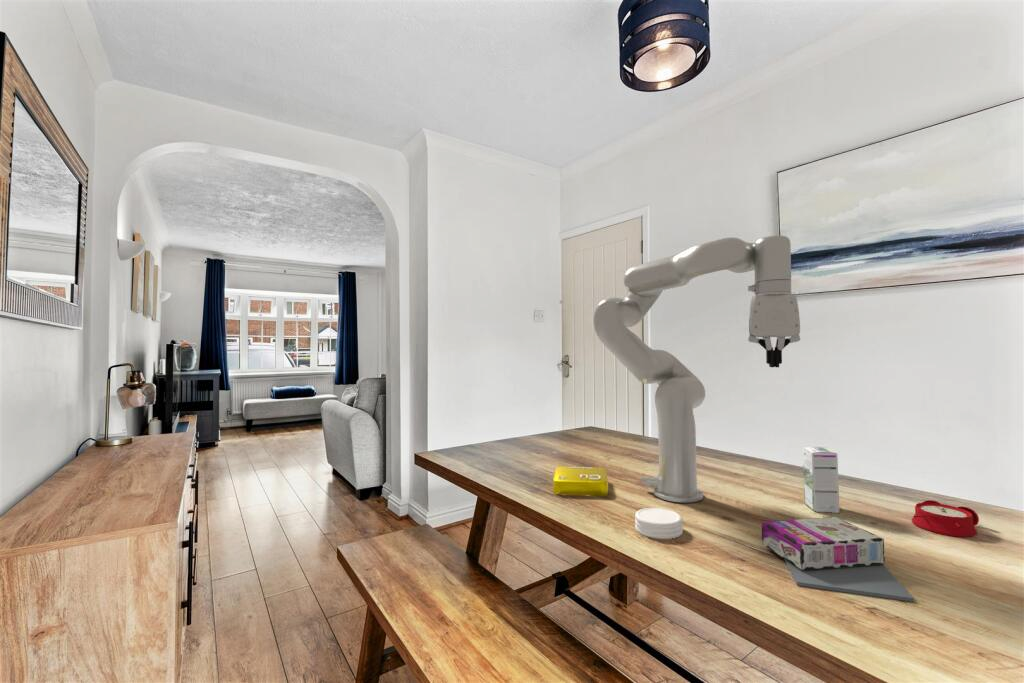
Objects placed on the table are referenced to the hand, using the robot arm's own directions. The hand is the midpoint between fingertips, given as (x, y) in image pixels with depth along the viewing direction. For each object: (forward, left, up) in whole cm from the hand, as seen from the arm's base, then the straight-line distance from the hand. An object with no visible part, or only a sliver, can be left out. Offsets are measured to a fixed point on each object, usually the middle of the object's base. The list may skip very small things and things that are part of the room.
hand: (774, 366), depth 109 cm
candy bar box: (-4, -25, -32) cm, 41 cm away
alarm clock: (+33, +4, -36) cm, 49 cm away
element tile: (-48, +7, -36) cm, 61 cm away
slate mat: (+5, -26, -35) cm, 44 cm away
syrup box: (+11, +8, -35) cm, 38 cm away
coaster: (-26, -17, -36) cm, 47 cm away
